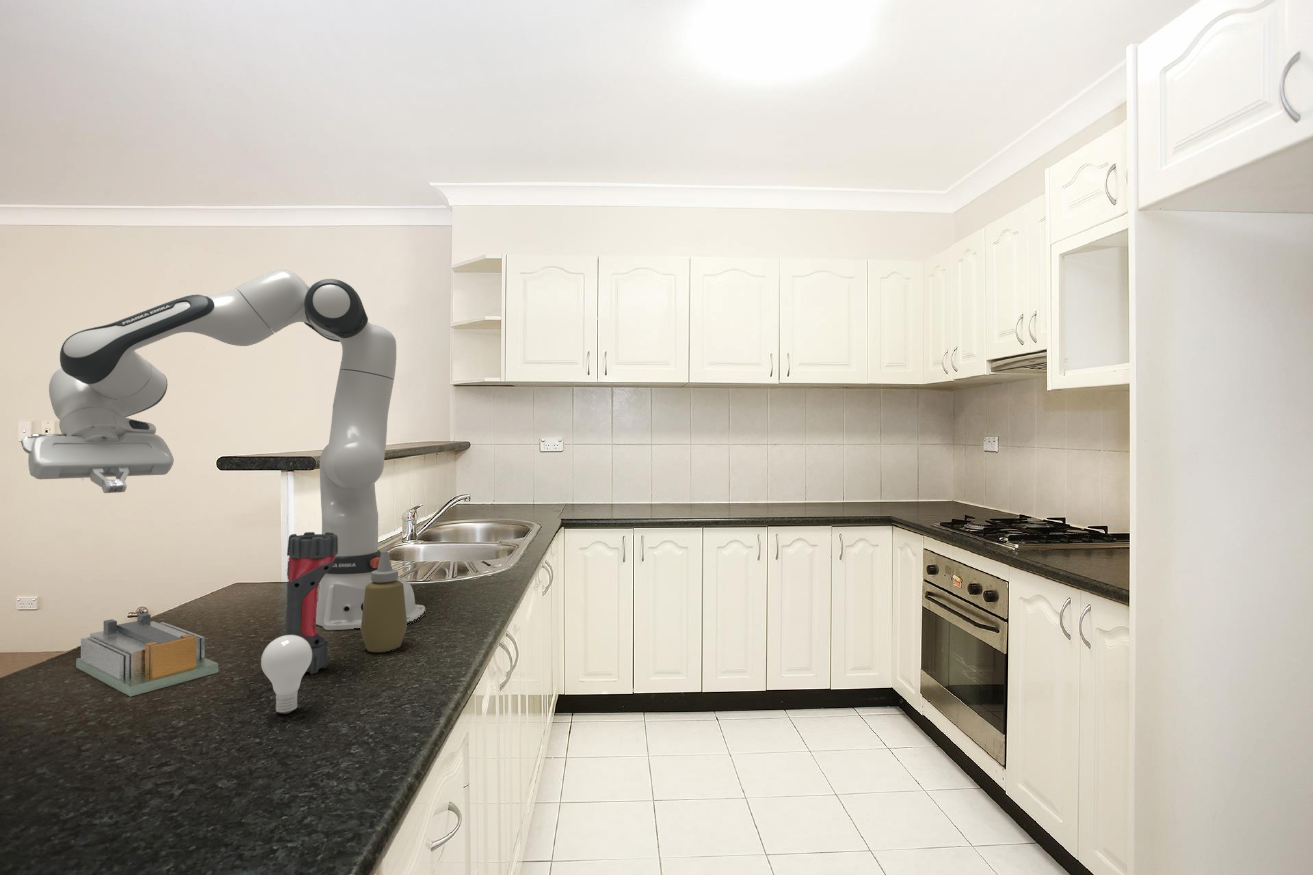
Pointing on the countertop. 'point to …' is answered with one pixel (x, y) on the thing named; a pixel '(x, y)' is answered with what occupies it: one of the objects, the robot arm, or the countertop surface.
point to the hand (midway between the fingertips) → (115, 490)
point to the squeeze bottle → (384, 609)
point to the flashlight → (308, 588)
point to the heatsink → (144, 658)
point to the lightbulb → (286, 668)
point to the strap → (145, 632)
